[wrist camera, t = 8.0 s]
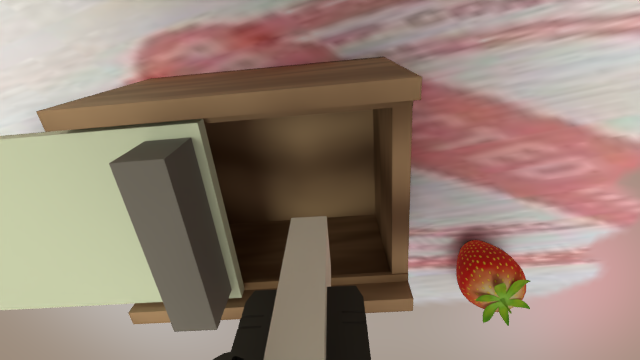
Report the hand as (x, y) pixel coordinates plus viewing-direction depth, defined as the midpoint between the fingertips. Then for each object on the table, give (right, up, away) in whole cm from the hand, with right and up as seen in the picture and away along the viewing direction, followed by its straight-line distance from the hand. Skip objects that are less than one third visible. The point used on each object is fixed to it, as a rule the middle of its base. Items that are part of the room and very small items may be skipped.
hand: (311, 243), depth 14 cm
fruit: (+15, -4, +17) cm, 23 cm away
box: (-3, +5, +14) cm, 15 cm away
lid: (-14, 0, +5) cm, 15 cm away
